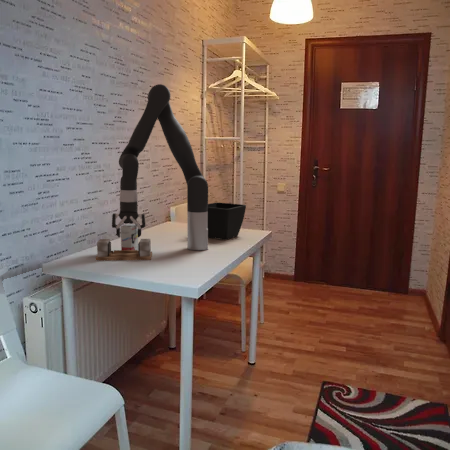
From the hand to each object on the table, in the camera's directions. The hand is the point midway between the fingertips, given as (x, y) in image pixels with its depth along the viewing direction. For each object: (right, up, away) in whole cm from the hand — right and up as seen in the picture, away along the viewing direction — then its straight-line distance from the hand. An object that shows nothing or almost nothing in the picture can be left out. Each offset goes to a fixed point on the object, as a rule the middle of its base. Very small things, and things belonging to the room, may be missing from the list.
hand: (128, 236), depth 196 cm
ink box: (0, -7, +1) cm, 7 cm away
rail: (+1, -8, -10) cm, 13 cm away
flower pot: (+41, -1, +38) cm, 56 cm away
